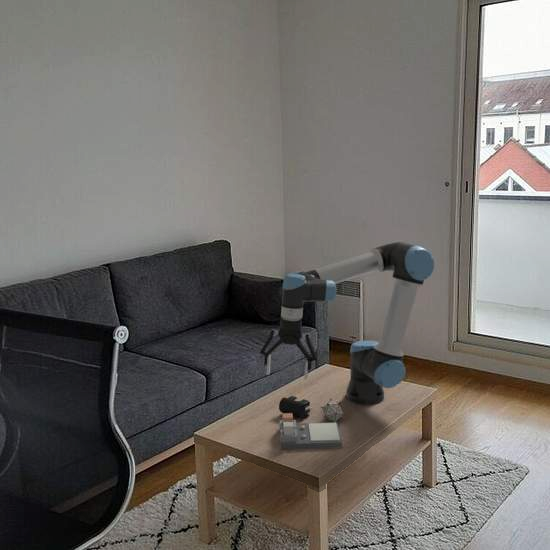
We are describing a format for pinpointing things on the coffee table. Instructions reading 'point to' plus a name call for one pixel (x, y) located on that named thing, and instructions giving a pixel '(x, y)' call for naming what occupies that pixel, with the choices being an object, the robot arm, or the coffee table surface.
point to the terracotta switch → (288, 417)
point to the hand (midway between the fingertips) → (286, 376)
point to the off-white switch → (288, 428)
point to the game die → (332, 411)
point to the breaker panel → (311, 436)
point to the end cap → (295, 407)
